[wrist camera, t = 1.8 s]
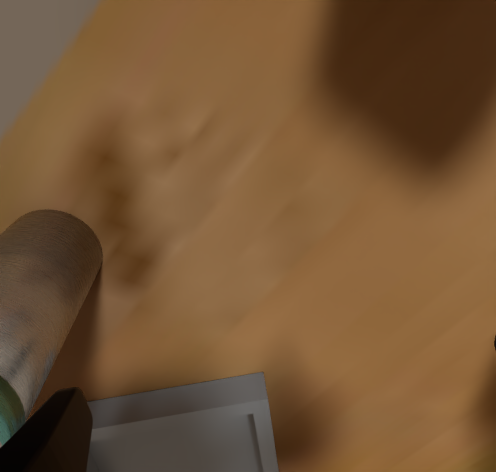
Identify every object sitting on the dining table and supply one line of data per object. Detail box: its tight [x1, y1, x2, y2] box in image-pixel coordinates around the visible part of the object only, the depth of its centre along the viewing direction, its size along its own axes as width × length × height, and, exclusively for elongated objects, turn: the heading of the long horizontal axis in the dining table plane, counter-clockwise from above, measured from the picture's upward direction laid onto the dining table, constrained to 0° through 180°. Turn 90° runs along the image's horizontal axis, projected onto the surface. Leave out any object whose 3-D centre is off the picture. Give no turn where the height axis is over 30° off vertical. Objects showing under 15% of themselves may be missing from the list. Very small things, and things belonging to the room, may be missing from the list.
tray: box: [86, 372, 279, 472], centre depth 26 cm, size 13×13×2 cm
